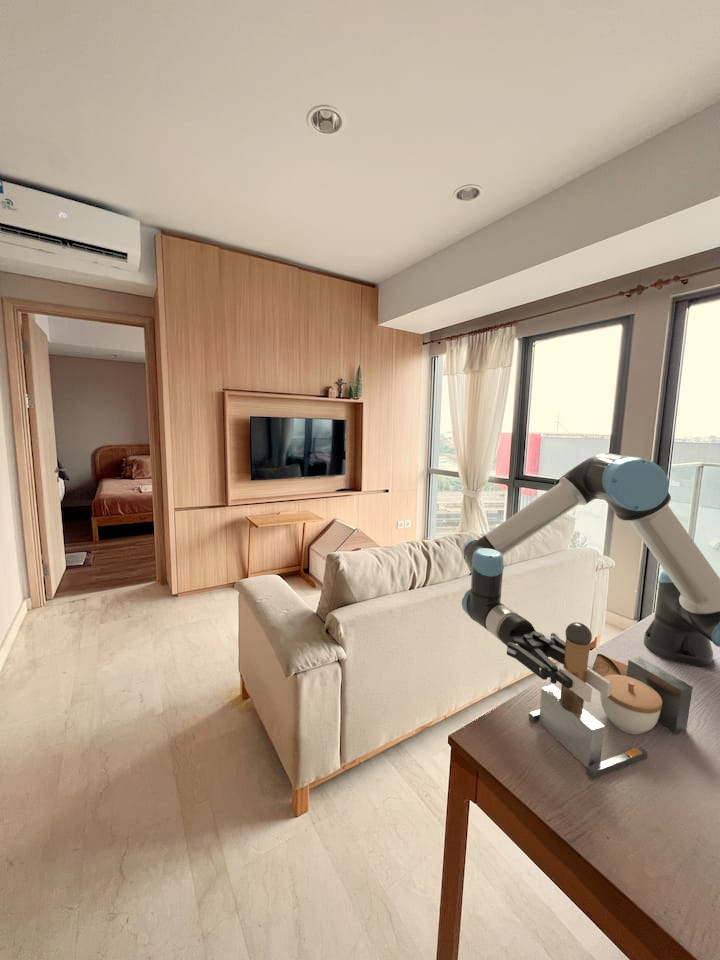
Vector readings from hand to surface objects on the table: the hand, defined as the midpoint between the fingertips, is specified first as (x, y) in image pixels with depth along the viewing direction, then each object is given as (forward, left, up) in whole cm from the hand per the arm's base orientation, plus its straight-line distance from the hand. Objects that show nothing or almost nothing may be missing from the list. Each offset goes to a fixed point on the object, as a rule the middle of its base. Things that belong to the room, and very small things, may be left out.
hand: (599, 692), depth 71 cm
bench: (-11, -5, -15) cm, 20 cm away
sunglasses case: (-29, -14, -16) cm, 36 cm away
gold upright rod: (0, -5, -15) cm, 16 cm away
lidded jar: (-16, -5, -15) cm, 23 cm away
